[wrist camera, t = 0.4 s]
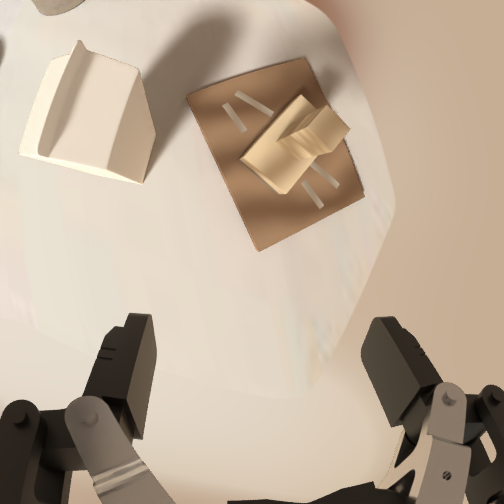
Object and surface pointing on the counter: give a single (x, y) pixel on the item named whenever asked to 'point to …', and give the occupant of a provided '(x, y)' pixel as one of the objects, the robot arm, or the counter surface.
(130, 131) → the milk
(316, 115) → the block
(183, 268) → the counter surface
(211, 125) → the board
